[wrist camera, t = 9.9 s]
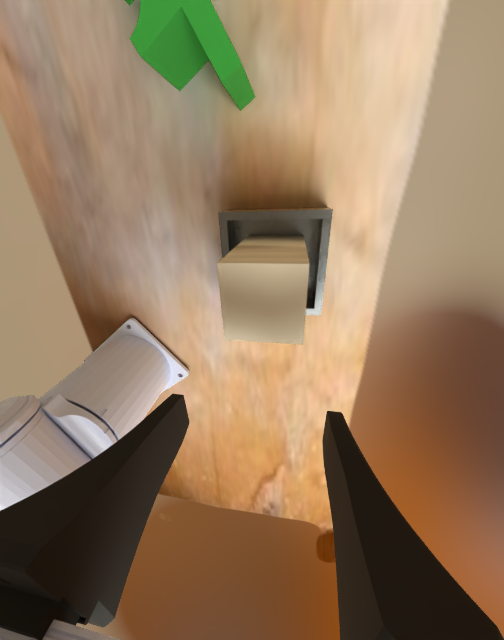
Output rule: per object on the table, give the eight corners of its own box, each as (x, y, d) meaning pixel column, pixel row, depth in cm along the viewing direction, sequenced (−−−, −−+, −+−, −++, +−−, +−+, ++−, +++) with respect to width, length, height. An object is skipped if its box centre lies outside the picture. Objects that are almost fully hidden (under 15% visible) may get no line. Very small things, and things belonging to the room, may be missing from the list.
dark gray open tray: (318, 301, 20) (320, 315, 18) (234, 299, 21) (227, 311, 19) (327, 207, 17) (332, 209, 14) (228, 209, 18) (218, 212, 15)
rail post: (300, 288, 19) (303, 344, 12) (249, 287, 20) (224, 340, 13) (303, 235, 17) (309, 263, 10) (248, 235, 18) (217, 263, 11)
